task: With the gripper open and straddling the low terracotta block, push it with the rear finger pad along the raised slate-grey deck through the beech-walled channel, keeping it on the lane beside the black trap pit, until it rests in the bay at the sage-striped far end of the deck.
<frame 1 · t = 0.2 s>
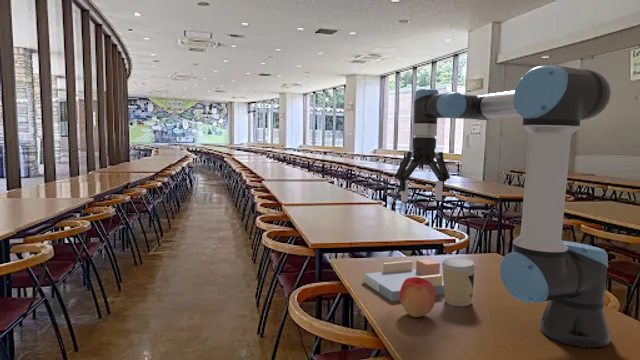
hand: (421, 200, 148), 27 cm above the table, fingers open, 13 cm apart
coffee cup: (458, 301, 132), on the table
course: (409, 287, 143), on the table
block: (427, 273, 150), point 3 cm above the table, touching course
apple: (416, 316, 121), on the table
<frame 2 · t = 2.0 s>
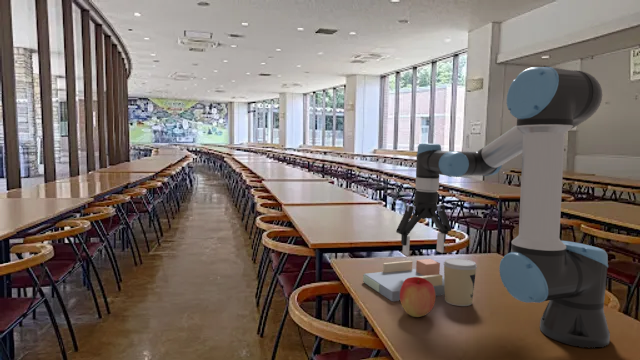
hand: (423, 253, 148), 10 cm above the table, fingers open, 13 cm apart
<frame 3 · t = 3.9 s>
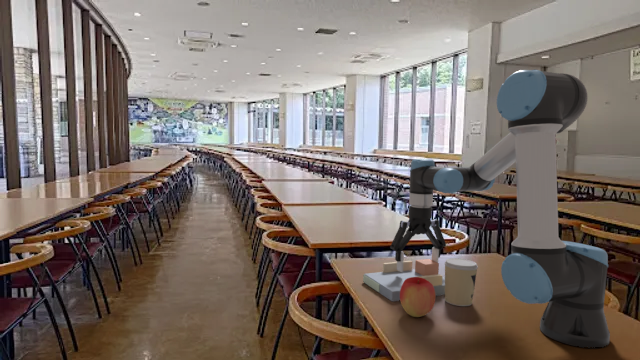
hand: (417, 269, 148), 5 cm above the table, fingers open, 13 cm apart
block: (426, 273, 149), point 3 cm above the table, touching gripper
everything else where it was.
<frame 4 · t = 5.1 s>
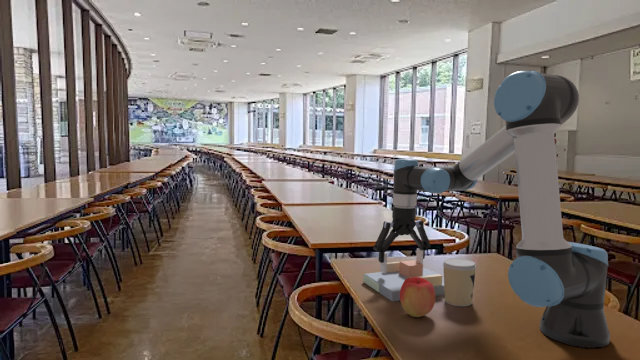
hand: (401, 270, 146), 5 cm above the table, fingers open, 13 cm apart
block: (410, 274, 147), point 3 cm above the table, touching gripper
everything else where it was.
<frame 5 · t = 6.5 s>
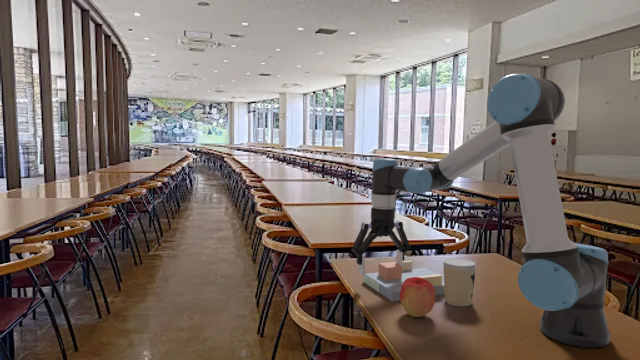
hand: (380, 272, 143), 5 cm above the table, fingers open, 13 cm apart
block: (389, 276, 144), point 3 cm above the table, touching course
everything else where it was.
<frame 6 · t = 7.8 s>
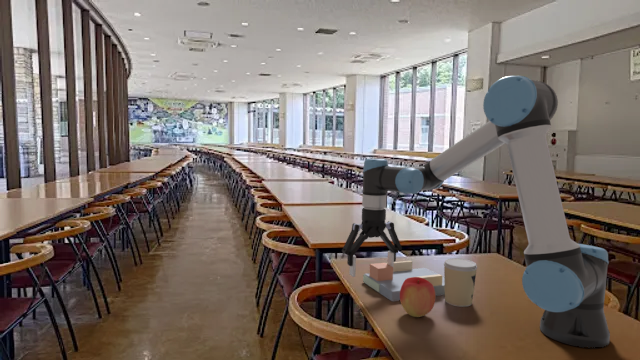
hand: (371, 273, 141), 5 cm above the table, fingers open, 13 cm apart
block: (380, 277, 143), point 3 cm above the table, touching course, gripper
everything else where it was.
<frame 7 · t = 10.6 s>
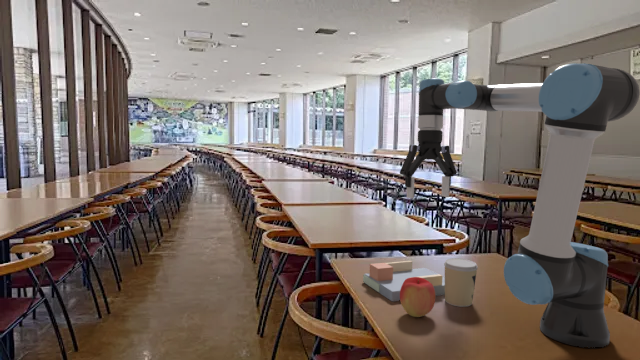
hand: (427, 197, 140), 30 cm above the table, fingers open, 13 cm apart
block: (380, 277, 143), point 3 cm above the table, touching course
everything else where it was.
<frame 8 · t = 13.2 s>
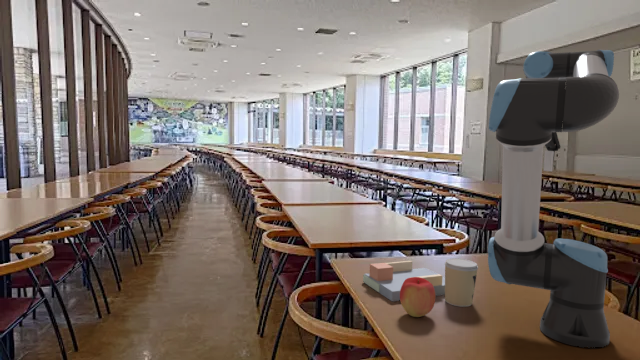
hand: (532, 171, 141), 39 cm above the table, fingers open, 13 cm apart
nothing on the table moved.
at the end: block inside the target area (0.2 cm from its centre), point 3.0 cm above the table; block tilted 0° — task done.
